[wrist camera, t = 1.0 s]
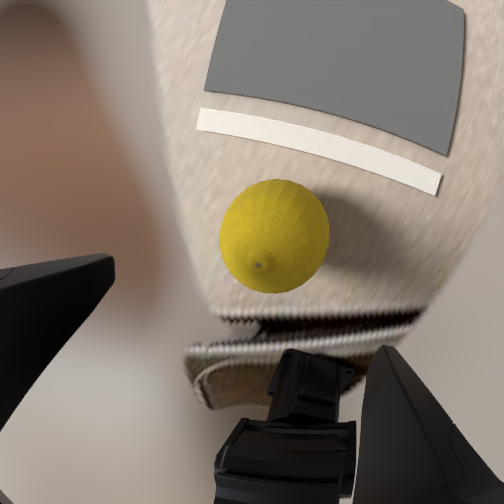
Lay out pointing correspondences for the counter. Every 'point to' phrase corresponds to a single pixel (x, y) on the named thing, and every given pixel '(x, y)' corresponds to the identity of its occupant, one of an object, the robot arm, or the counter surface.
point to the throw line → (320, 146)
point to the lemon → (274, 236)
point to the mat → (348, 60)
